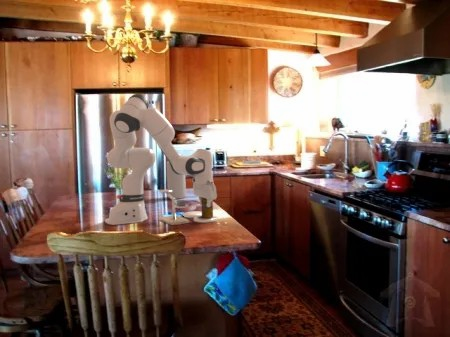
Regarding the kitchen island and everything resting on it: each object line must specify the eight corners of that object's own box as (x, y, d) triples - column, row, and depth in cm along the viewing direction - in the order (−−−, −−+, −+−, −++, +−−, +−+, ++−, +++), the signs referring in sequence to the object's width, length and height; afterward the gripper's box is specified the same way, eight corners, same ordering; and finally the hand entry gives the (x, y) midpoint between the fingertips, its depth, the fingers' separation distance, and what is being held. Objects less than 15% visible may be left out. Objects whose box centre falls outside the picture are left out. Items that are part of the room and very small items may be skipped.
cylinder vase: (165, 197, 323) (164, 161, 320) (182, 195, 328) (181, 160, 326) (171, 199, 312) (169, 162, 309) (188, 198, 317) (187, 161, 314)
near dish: (200, 223, 236) (200, 221, 236) (189, 219, 248) (189, 217, 248) (222, 220, 243) (222, 218, 243) (211, 216, 254) (210, 214, 254)
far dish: (188, 218, 249) (188, 217, 249) (178, 214, 260) (178, 213, 260) (209, 215, 255) (209, 214, 255) (199, 212, 267) (199, 210, 267)
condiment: (216, 217, 244) (215, 195, 243) (202, 219, 240) (201, 196, 239) (209, 215, 251) (208, 193, 249) (195, 217, 246) (194, 194, 245)
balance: (175, 227, 230) (174, 196, 229) (156, 218, 253) (155, 190, 252) (193, 224, 235) (192, 194, 234) (173, 215, 258) (172, 188, 256)
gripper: (219, 181, 236) (220, 208, 237) (201, 177, 253) (202, 202, 255) (208, 182, 232) (209, 209, 234) (190, 178, 250) (191, 203, 252)
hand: (205, 205), depth 244 cm, fingers closed on condiment, 6 cm apart
